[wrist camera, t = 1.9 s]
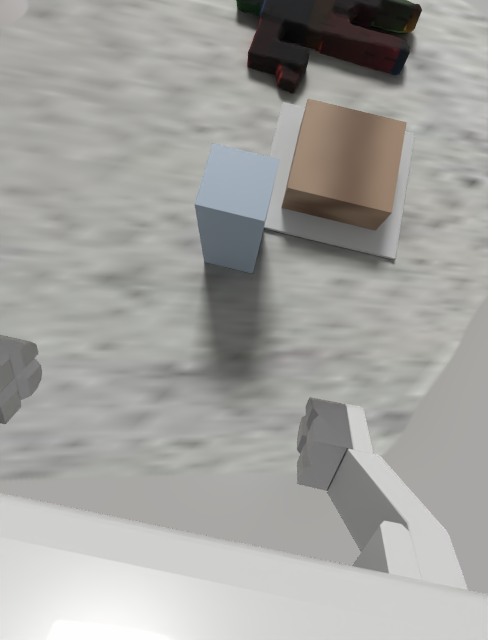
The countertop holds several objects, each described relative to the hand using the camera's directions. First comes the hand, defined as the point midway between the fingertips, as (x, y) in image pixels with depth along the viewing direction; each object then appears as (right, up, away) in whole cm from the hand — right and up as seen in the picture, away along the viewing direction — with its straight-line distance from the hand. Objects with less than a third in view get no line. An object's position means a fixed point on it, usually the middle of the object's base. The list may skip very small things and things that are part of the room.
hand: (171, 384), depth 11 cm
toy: (+9, +29, +24) cm, 39 cm away
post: (+1, +8, +19) cm, 20 cm away
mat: (+10, +14, +20) cm, 26 cm away
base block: (+10, +14, +20) cm, 26 cm away
